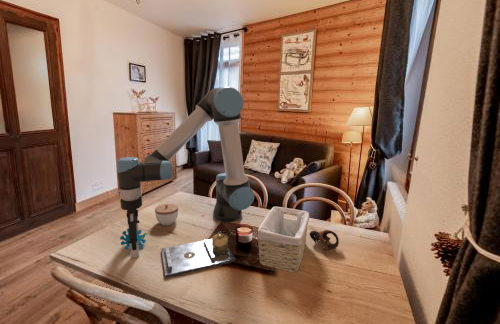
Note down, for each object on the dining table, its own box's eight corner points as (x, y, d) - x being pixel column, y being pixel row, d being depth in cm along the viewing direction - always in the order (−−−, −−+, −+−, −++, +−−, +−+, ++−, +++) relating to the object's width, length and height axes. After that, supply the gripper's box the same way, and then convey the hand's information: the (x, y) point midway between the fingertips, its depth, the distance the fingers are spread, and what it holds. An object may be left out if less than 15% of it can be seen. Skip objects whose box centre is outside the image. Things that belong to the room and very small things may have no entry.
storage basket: (298, 277, 85) (301, 238, 82) (254, 266, 91) (255, 229, 88) (308, 242, 107) (310, 211, 104) (271, 235, 113) (273, 204, 109)
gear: (127, 254, 93) (117, 230, 96) (120, 260, 96) (111, 237, 99) (152, 244, 103) (142, 223, 106) (145, 250, 105) (136, 230, 108)
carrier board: (222, 239, 108) (222, 223, 106) (235, 261, 93) (235, 244, 91) (161, 251, 98) (160, 234, 97) (165, 278, 83) (164, 258, 82)
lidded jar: (183, 221, 124) (182, 203, 122) (165, 230, 115) (164, 211, 113) (168, 215, 129) (167, 198, 127) (151, 223, 120) (149, 205, 118)
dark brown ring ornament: (335, 242, 109) (342, 232, 103) (332, 261, 102) (339, 251, 97) (308, 231, 112) (314, 221, 106) (304, 249, 105) (309, 239, 99)
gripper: (122, 188, 105) (126, 233, 110) (117, 211, 83) (123, 267, 88) (141, 186, 108) (144, 230, 113) (141, 208, 86) (146, 262, 91)
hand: (135, 246), depth 100 cm, fingers open, 13 cm apart
